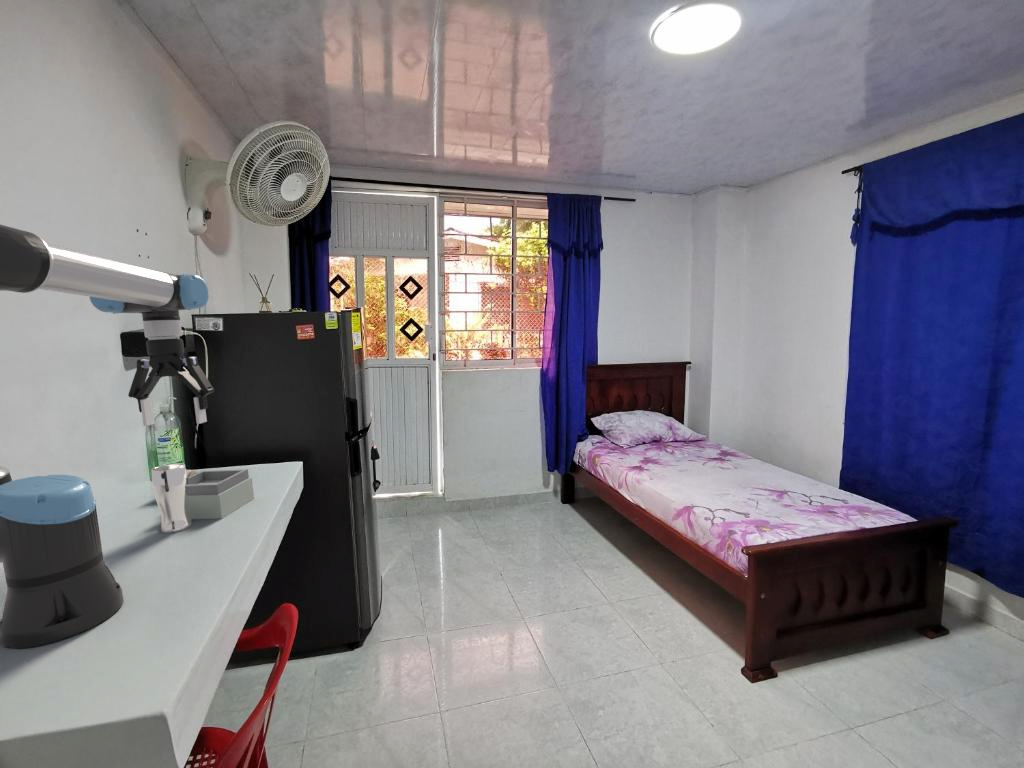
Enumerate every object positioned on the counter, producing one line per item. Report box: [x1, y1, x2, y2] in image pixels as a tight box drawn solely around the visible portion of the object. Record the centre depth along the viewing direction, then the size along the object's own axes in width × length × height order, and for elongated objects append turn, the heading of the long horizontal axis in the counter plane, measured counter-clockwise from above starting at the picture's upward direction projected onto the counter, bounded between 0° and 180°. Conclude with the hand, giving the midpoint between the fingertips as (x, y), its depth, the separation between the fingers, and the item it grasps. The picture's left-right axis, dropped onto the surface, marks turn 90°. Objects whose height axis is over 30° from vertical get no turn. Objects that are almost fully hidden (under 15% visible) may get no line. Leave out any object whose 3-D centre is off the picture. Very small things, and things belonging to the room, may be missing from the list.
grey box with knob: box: [188, 468, 255, 520], centre depth 130 cm, size 14×17×8 cm
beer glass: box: [150, 462, 193, 534], centre depth 118 cm, size 7×7×15 cm
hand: (175, 423), depth 124 cm, fingers open, 13 cm apart
